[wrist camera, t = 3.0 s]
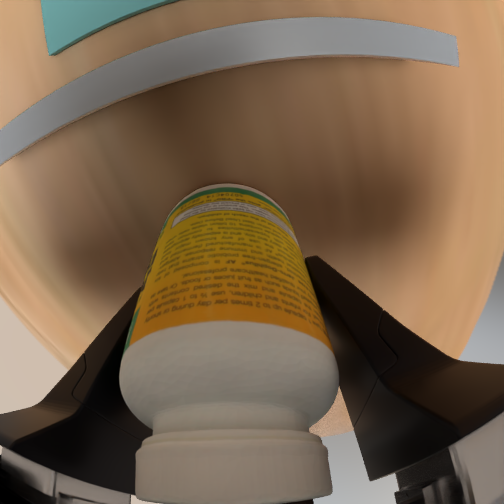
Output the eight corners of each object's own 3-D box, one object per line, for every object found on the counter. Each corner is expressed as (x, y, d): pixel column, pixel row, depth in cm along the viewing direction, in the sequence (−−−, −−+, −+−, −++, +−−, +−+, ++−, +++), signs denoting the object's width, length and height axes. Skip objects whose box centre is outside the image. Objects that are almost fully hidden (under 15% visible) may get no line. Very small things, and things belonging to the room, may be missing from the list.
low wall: (406, 60, 7) (459, 67, 5) (16, 155, 8) (-27, 186, 6) (403, 36, 7) (455, 36, 4) (9, 135, 7) (-36, 162, 5)
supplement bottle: (290, 281, 13) (337, 494, 5) (178, 291, 13) (158, 502, 5) (292, 172, 10) (417, 469, 2) (148, 187, 10) (41, 471, 2)
